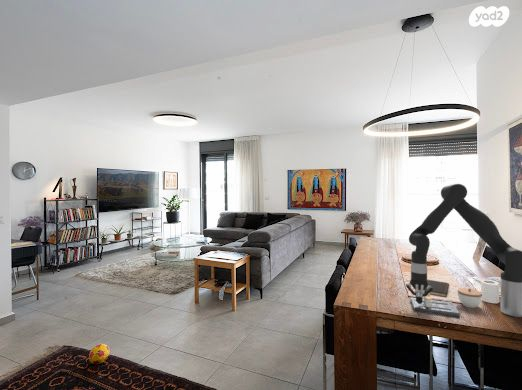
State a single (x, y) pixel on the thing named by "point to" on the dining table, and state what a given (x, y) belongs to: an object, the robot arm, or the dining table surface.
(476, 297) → the lidded jar
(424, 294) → the robot arm
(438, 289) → the hardcover book
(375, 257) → the dining table surface
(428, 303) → the fader
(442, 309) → the console
